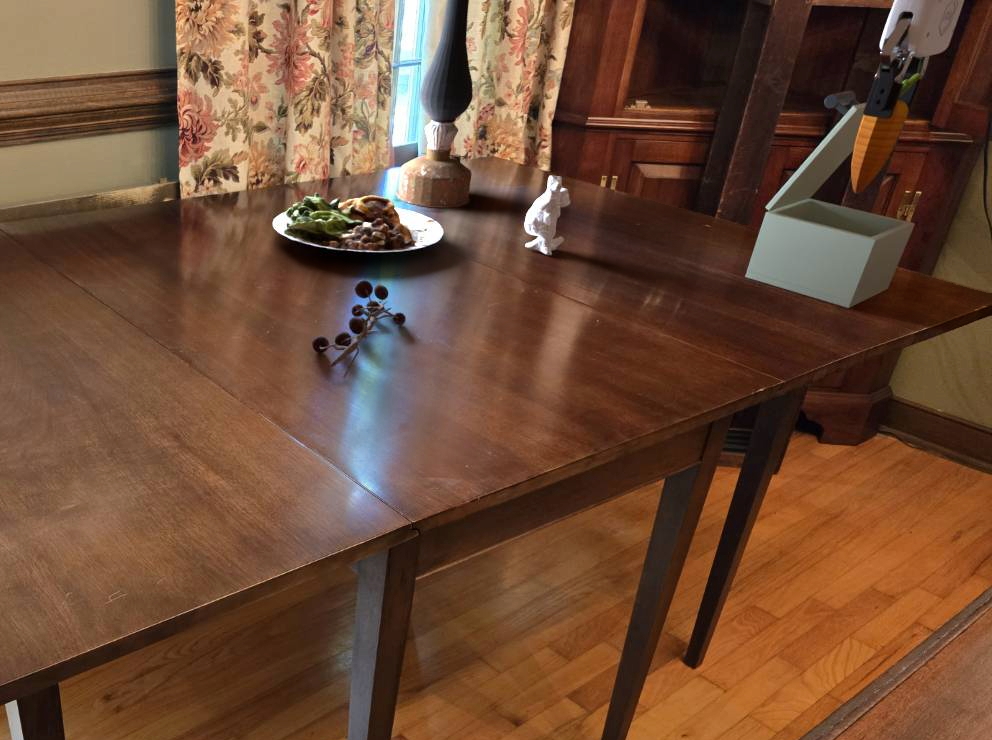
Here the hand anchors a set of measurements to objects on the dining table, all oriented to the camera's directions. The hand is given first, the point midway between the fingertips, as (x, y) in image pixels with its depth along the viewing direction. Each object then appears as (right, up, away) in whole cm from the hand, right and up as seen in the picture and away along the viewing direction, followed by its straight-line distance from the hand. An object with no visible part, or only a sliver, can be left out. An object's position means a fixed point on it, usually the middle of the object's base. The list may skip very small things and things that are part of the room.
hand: (886, 112), depth 120 cm
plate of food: (-63, -4, +38) cm, 74 cm away
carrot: (0, -8, +6) cm, 10 cm away
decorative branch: (-66, -29, +3) cm, 72 cm away
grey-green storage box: (+7, -14, +28) cm, 32 cm away
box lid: (+5, +3, +20) cm, 21 cm away
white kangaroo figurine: (-33, -6, +37) cm, 50 cm away
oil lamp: (-47, +11, +61) cm, 77 cm away
